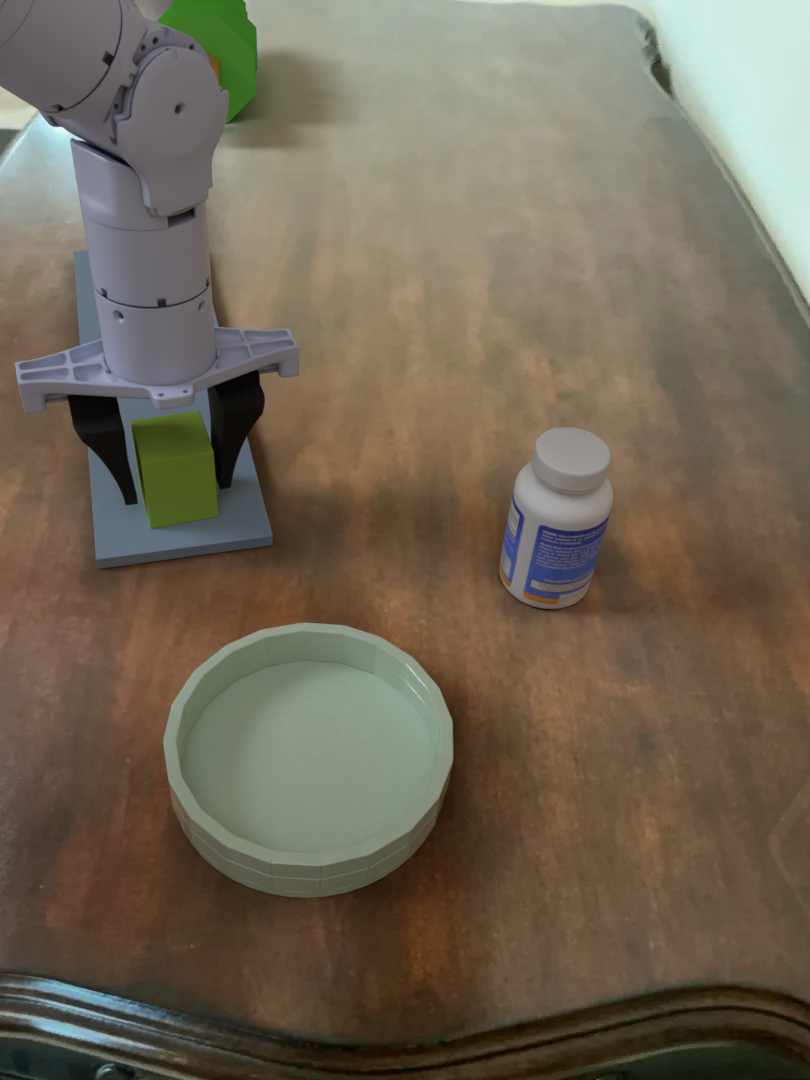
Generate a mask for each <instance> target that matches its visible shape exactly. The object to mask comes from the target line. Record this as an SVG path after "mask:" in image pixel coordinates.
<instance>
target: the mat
mask: <svg viewBox="0 0 810 1080" xmlns="http://www.w3.org/2000/svg"><path fill="white" fill-rule="evenodd" d="M72 254H73V266H74V267H73V268H74V270H73V271H74V278H75V279H74V283H75V296H76V308H77V309H76V310H77V321H78V335H79V336H78V337H79V346H80V345H83V344H86V343H89V342H92V341H95V340H98V339H102V336H101V330H100V324H99V318H98V312H97V306H96V299H95V293H94V287H93V279H92V273H91V267H90V261H89V255H88V249H86V250H85V249H84V250H73V251H72ZM212 304H213V318H214V327H220V325H219V322H218V318H217V314H216V309H215V307H214V302H213V301H212ZM194 394H195V402H194V403H193V404H192V405H189V406H184V407H177V408H170V409H158V408H156V407H155V406H154V405H153V402H152V400H151V399H136V398H120V397H117V401H118V404H119V410H120V415H121V419H122V423H123V427H124V431H125V440H126V448H127V456H128V461H129V465H130V469H131V473H132V477H133V481H134V485H135V489H136V493H137V501H138V504H133V505H125V502H124V498H123V495H122V493H121V490H120V488H119V486H118V484H117V483H116V481H115V479H114V477H113V476H112V474H111V473H110V471H109V470H108V468H107V467H106V465H105V464H104V463H103V462H102V460H101V459H100V458H99V457H98V456H97V455H96V454H95V453H94V452H93V451H92V450H91V449H90V448H89V447H88V446H87V457H88V469H89V470H88V471H89V481H90V482H89V483H90V484H89V485H90V496H91V497H90V498H91V507H92V508H91V510H92V520H93V521H92V522H93V537H94V538H93V539H94V549H95V550H94V551H95V561H96V567H97V569H98V570H101V569H109V568H116V567H123V566H131V565H137V564H138V565H139V564H144V563H145V564H146V563H152V562H153V563H154V562H159V561H166V560H174V559H183V558H190V557H197V556H204V555H211V554H219V553H226V552H233V551H234V552H235V551H240V550H248V549H257V548H262V547H270V546H273V545H274V535H273V531H272V528H271V523H270V520H269V516H268V513H267V512H268V511H267V508H266V504H265V500H264V497H263V493H262V488H261V485H260V481H259V477H258V473H257V469H256V465H255V461H254V458H253V454H252V450H251V446H250V441H249V439H248V436H247V437H246V439H245V441H244V443H243V446H242V448H241V450H240V453H239V456H238V459H237V462H236V465H235V469H234V473H233V477H232V484H231V487H230V488H227V489H221V490H220V488H219V485H218V482H217V479H216V488H217V501H218V514H219V516H218V517H215V518H209V519H204V520H198V521H192V522H187V523H181V524H176V525H170V526H165V527H159V528H153V529H151V528H150V524H149V520H148V516H147V512H146V508H145V505H144V501H143V497H142V493H141V489H140V484H139V477H138V471H137V464H136V457H135V450H134V444H133V437H132V430H131V424H130V421H131V420H138V419H145V418H152V417H158V416H165V415H172V414H179V413H186V412H193V411H200V414H201V416H202V419H203V422H204V425H205V428H206V431H207V434H208V437H209V440H210V443H211V418H210V408H209V400H208V392H207V388H206V389H204V390H201V391H198V392H196V393H194Z"/></svg>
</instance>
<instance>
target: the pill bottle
mask: <svg viewBox="0 0 810 1080" xmlns="http://www.w3.org/2000/svg"><path fill="white" fill-rule="evenodd" d="M611 456H612V455H611V451H610V449H609V446H608V445H607V443H606V442H604V441H603V439H602V438H600V437H599V436H597V435H596V434H594V433H593V432H590V431H588V430H585V429H582V428H578V427H572V426H571V427H569V426H562V427H555V428H551V429H549V430H546V431H544V432H542V434H541V435H540V436H538V438H537V440H536V442H535V445H534V449H533V452H532V456H531V460H530V461H529V462H528V463H526V464H525V465H524V466H523V467H522V468H521V469H520V471H518V473H517V475H516V478H515V481H514V486H513V490H512V495H511V501H510V506H509V511H508V516H507V522H506V527H505V532H504V537H503V543H502V547H501V553H500V558H499V568H498V569H499V570H498V571H499V576H500V580H501V582H502V584H503V586H504V587H505V589H506V590H507V591H508V592H509V594H511V595H512V596H513V597H514V598H516V599H517V600H518V601H519V602H522V603H524V604H525V605H528V606H529V607H530V606H531V607H533V608H537V609H544V610H558V609H564V608H567V607H570V606H572V605H574V604H577V603H578V602H579V601H580V600H582V599H583V598H584V597H585V596H586V594H587V593H588V590H589V588H590V585H591V582H592V580H593V575H594V571H595V568H596V564H597V562H598V558H599V554H600V551H601V547H602V543H603V540H604V536H605V533H606V529H607V526H608V523H609V519H610V516H611V513H612V508H613V504H614V489H613V486H612V484H611V482H610V480H609V478H608V472H609V468H610V464H611V460H612V459H611Z"/></svg>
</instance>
